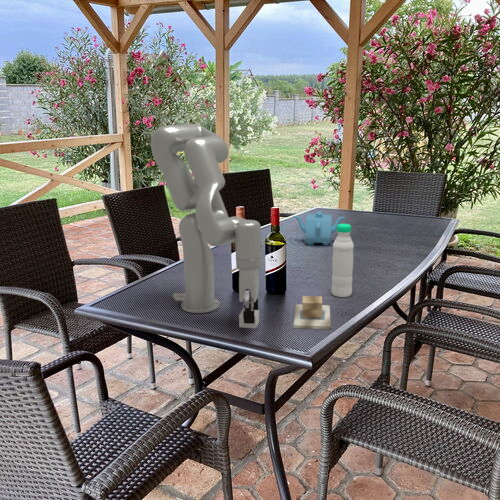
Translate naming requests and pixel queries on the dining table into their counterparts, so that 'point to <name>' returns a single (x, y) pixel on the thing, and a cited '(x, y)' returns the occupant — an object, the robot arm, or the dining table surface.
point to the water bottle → (342, 262)
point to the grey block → (246, 325)
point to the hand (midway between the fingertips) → (251, 316)
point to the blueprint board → (312, 319)
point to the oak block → (312, 307)
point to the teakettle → (318, 228)
